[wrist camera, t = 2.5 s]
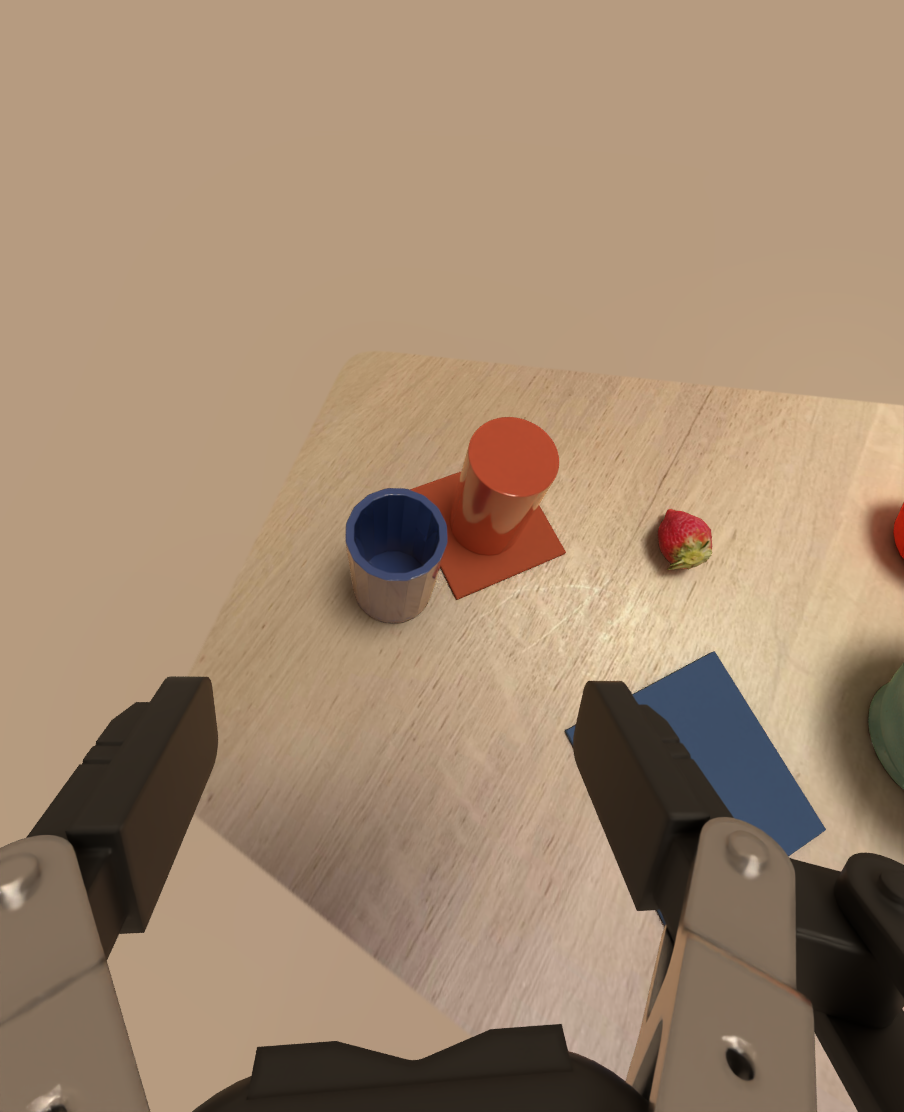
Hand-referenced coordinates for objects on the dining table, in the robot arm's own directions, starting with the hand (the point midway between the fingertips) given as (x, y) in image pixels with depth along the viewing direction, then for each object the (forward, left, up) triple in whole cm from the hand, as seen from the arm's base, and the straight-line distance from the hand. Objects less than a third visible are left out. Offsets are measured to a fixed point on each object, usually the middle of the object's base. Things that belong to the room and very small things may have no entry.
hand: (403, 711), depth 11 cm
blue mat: (+19, -12, -27) cm, 35 cm away
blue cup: (+5, +10, -27) cm, 29 cm away
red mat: (+14, +12, -27) cm, 33 cm away
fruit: (+28, +4, -27) cm, 39 cm away
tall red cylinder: (+14, +12, -26) cm, 32 cm away
